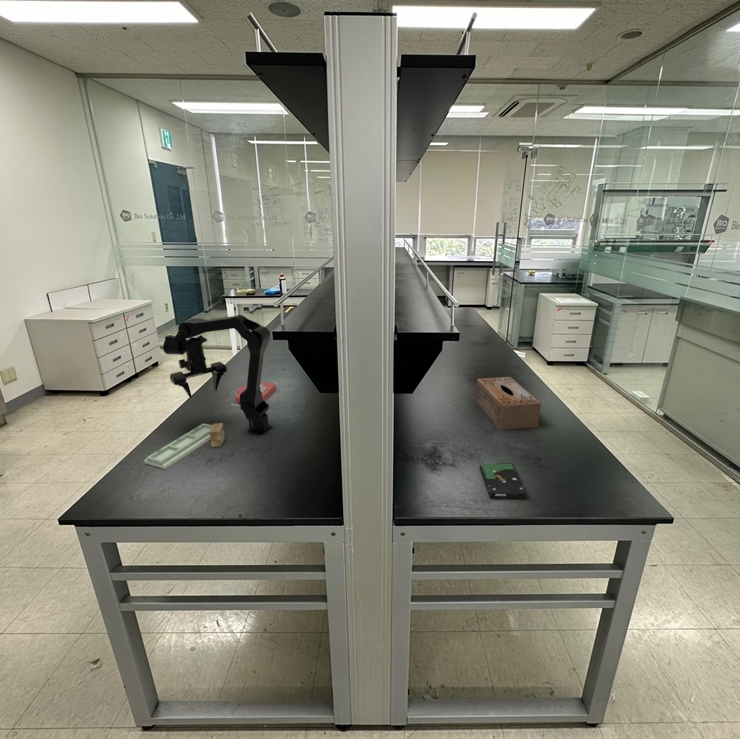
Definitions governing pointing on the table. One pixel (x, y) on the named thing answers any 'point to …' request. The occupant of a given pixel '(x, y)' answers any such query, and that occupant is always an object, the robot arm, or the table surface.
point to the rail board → (180, 447)
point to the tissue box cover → (507, 403)
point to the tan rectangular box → (217, 435)
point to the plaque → (265, 388)
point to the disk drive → (502, 481)
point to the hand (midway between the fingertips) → (203, 394)
